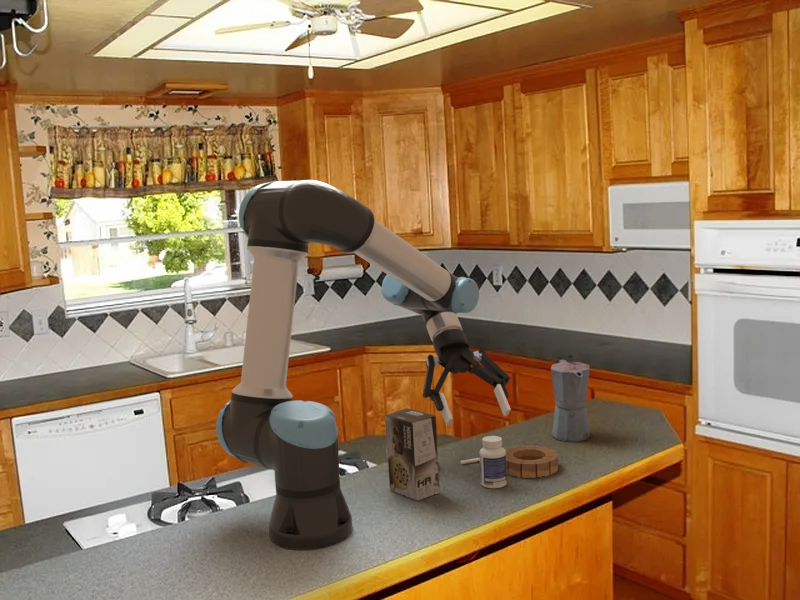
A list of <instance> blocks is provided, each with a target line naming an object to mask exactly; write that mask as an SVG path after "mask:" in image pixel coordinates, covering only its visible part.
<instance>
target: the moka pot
mask: <svg viewBox="0 0 800 600" xmlns="http://www.w3.org/2000/svg"><path fill="white" fill-rule="evenodd" d="M566 359H567V360H566ZM566 359H563V358H562V357H561V356H558V358H557V361H556V363H554V364H551V367H550V373H551V381H552V387H553V388H552V389H553V394H554V396H553V397H554V399H555V406H554V416H553V422H552V431H551V436H552V437H554V438H555V440H558V441H561V442H562V441H563V442H568V443H569V442H570V443H574V442H575V443H577V442H582V441H585V440H587V439H589V437H590V435H591V431H590V430H591V429H590V423H589V419H588V412H587V406H586V405H587V398H588V397H587V396H588V389H589V388H588V387H589V381H590V380H589V378H590V369H591V368H590V364H588V363H587V364H586V363H583V362H580V361H574V355H572V354H571V355H567V356H566Z"/></svg>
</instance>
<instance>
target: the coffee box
mask: <svg viewBox="0 0 800 600" xmlns="http://www.w3.org/2000/svg"><path fill="white" fill-rule="evenodd" d="M384 421H385V436H386V437H385V438H386V448H387V453H388V458H387V463H388V464H387V465H388V478H389V479H388V480H389V490H390V491H391V490H392V491H393V492H395V493H397V494H399V495H402V496H404V495H405V497H407V498H409V497H410V499H412V500H415V501H420V500H423V499H425V498H429V497H431V496H434V494H435V495H437V493H438V494H439V493H440V479H439V476H440V475H439V464H438V461H439V459H438V458H439V457H438V456H439V454H438V439H437V438H438V437H437V416H436V415H435V414H431V413H428V412H423V411H419V410H415V409H411V408H404V409H401V410H398V411H397V410H396V411H394V412H391V413H388V414H384Z"/></svg>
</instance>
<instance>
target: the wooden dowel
mask: <svg viewBox="0 0 800 600" xmlns="http://www.w3.org/2000/svg"><path fill="white" fill-rule="evenodd" d="M478 461H479V462H480V457H475V458H470V459H464V460H460V464H461V465H467V464H472V463H478Z"/></svg>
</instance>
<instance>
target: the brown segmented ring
mask: <svg viewBox="0 0 800 600" xmlns="http://www.w3.org/2000/svg"><path fill="white" fill-rule="evenodd" d="M505 451H506V468H507V475H508V476H512V477H515V476H516V477H515V478H520V477H521V478H522V479H537V477H540V478H543V477H542V476H545V477H549V476H552V475H554V474H556V473H557V472H558V471H559V459H558V458H559V457H558V456H559V455H558V453H559V452H557V451H555V449H552V448H550V447H546V446H541V445H517V446H513V447H509V448H507V449H505ZM556 471H557V472H556ZM553 473H554V474H553ZM530 477H531V478H530Z"/></svg>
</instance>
